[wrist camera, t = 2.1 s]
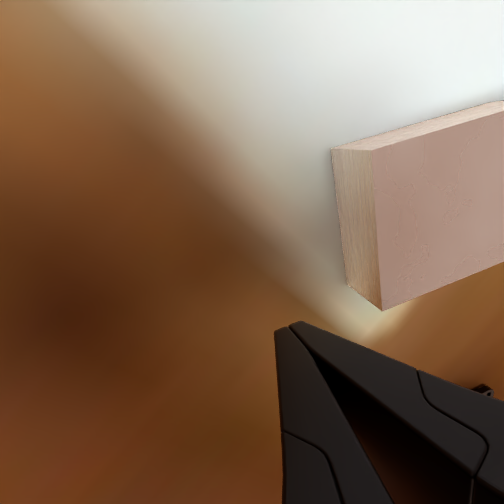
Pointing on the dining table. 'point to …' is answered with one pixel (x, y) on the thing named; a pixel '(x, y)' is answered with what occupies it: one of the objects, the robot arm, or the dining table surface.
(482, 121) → the pale pink block
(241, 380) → the dining table surface
